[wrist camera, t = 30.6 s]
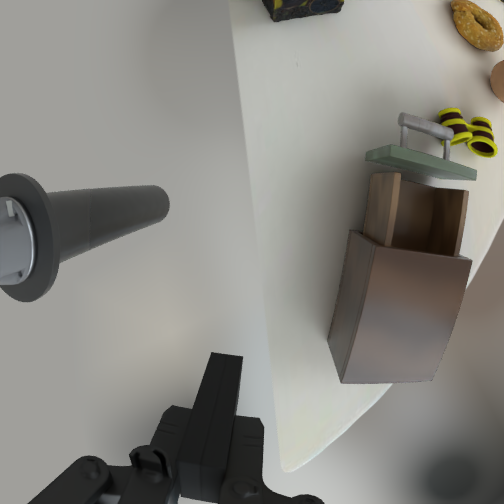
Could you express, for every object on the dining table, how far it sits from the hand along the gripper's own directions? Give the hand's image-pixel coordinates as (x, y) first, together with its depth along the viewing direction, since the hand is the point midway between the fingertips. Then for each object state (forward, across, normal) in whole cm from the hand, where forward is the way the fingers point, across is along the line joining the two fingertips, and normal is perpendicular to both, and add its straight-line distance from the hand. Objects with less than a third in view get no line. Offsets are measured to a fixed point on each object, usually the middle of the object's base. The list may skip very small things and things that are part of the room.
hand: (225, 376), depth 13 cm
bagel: (+25, +32, +43) cm, 59 cm away
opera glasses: (+25, +27, +21) cm, 42 cm away
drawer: (+23, +18, +10) cm, 31 cm away
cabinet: (+24, +18, -3) cm, 30 cm away
